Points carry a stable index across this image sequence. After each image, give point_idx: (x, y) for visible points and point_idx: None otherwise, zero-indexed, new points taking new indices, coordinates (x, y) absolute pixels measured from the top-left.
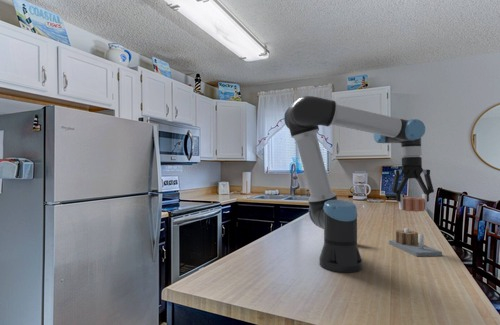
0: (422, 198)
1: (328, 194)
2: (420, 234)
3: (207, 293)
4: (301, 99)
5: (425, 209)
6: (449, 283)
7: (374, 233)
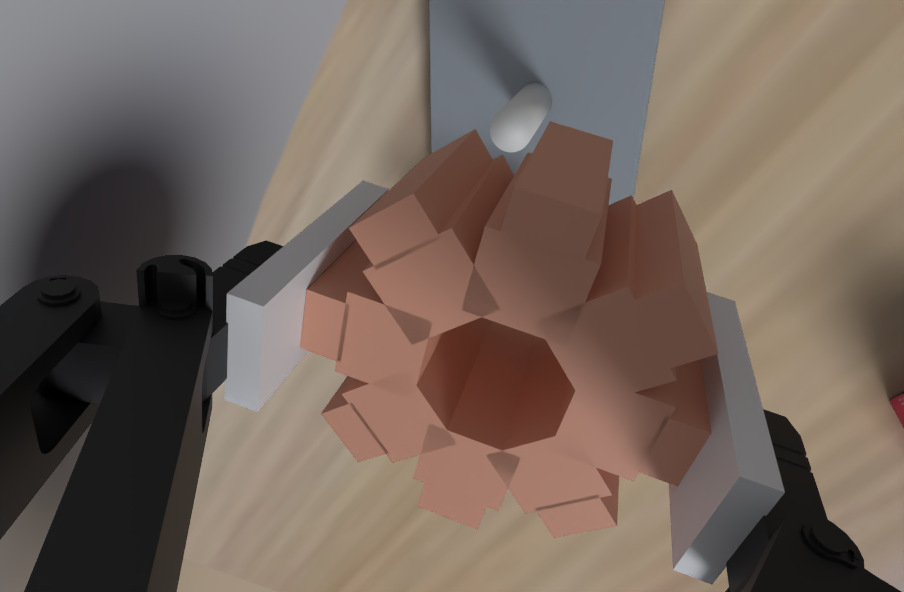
0: (330, 306)
1: None
2: (509, 139)
3: None
4: None
5: (382, 189)
6: None
7: (526, 552)
